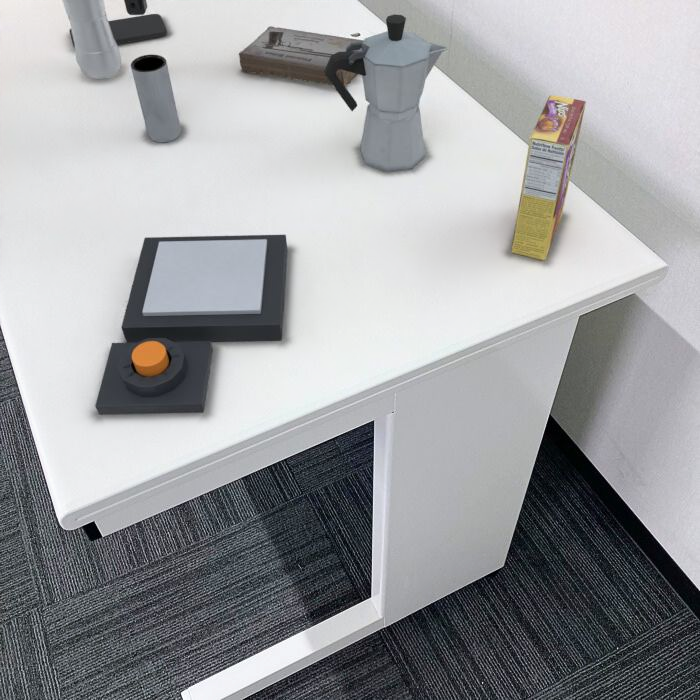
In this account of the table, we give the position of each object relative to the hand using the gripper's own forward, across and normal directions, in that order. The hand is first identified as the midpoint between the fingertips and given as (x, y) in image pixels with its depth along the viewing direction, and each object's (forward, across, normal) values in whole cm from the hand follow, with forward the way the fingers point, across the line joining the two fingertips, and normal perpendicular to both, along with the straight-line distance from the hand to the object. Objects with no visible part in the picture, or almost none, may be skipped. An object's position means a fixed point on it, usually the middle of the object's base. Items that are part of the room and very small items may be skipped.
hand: (138, 11), depth 89 cm
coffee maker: (+17, -5, -30) cm, 35 cm away
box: (+17, +18, -18) cm, 31 cm away
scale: (+17, -31, -10) cm, 37 cm away
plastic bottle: (+17, +18, +13) cm, 28 cm away
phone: (+17, +30, +13) cm, 37 cm away
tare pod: (+17, -43, -6) cm, 47 cm away
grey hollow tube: (+17, +1, 0) cm, 17 cm away
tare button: (+14, -43, -6) cm, 46 cm away
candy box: (+17, -21, -47) cm, 54 cm away
